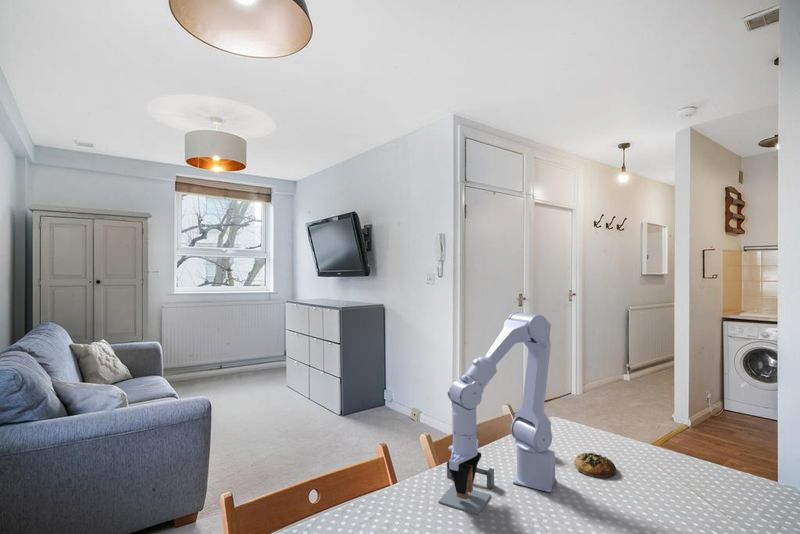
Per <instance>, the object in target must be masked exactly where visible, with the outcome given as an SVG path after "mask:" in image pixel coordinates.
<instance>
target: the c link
mask: <svg viewBox="0 0 800 534" xmlns="http://www.w3.org/2000/svg"><path fill="white" fill-rule="evenodd" d="M465 465H467V464H465ZM467 466H471V465H467ZM471 467H472V468H471V470H470V473H469V476H468V481H467V489H466V493H465V494H460V493H457V497H459V498H462V499H467V498H468V492H470V493H471V492H472V491H473V490H474V486H473V485H474V482H473V466H471Z"/></svg>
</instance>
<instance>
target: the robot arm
mask: <svg viewBox="0 0 800 534" xmlns="http://www.w3.org/2000/svg"><path fill="white" fill-rule="evenodd" d="M551 327H552V324H551V323H550V322H549V320H548V319H547V318H546V317H545V316H543V315H541V314H531V313H524V312H523V313H522V312H519V311H515V312H512V313H511V314H510V315H509V316H508V318H507V319H505V321H504V323H503V329H502V330H501V332H500V333H499V335H498V336H497V338H496V339H495V340H494V342H493V344H492V345H491V346H490V348H489V350H488V351H487V353H486V354H485V355H483V356H478V357H477V358H474V359H473V361H471V362H472V364H471V365H470V366H469V368H468V369H467V370H466V372H465V373H463V374H462V376H461V377H460V379H458V380H455V381H454V382H452V383H451V385H450V387H449V389H448V390H449V391H447V397H448V399H449V401H451V408H452V444H451V445H449V446H448V451H449V452H451V456H450V458H449V460H447V462H448V463H447V462H446V468H447V467H448V469H449V470H450V472H451V474H452V480H453V484H454V485H455V488H456V492H457V493H460V494H465V493H466V489H467V481H468V476H469V473H470V470H471V468H472V467H471V466H473V483H474V481H475V476H476V474H477V473H476V468H478V465H479V462H480V460H481V458H482V453H481V452H479V450H478V449H479V446H480V444H479V439H477V435H478V434H477V407H478V405H480V404H481V402H482V398H483V393H484V391H485V390H484V389H485V388H486V386H487V385H488V384H489V383H490V381H491V380H492V379H493V378H494V376H495V375H496V374H497V365H498V364H499V362H500V361H501V360H502V359H503V358H504V357H505V356H506V355H507V354H508V352H510V350H511V349H512V348H513V347H514V346H515V345H516V344H519V343H523V344H524V345H525V346H526V347H527V349H528V352H527V359H526V361H527V362H526V369H525V377H524V387H523V396H522V397H523V398H522V403H521V404H522V406H521V407H520V408H519V409H517V410H516V411H515V412H514V418H513V420H512V421H511V425H510V434H511V436H512V437H513V439H514V440H515V441H514V443H515V444H516V474H515V476H514V478H513V480H512V484H515V485H519V486H523V487H527V488H530V489H533V490H539V491H543V492H546V493H551V492H552V489H553V488H554V484H555V482H556V480H557V479H556V455H555V451H554V450H552V449H549V448H550V446H551V445H552V442H553V433H552V422H551V420H550V419H549V417H548V416H547V414H546V413H545V411H544V410H545V404H546V403H545V401H546V394H547V393H546V391H547V384H548V382H547V381H548V373H549V365H550V355H551V347H552V346H551V339H550V336H551ZM465 464H467V465H471V466H467V465H465Z"/></svg>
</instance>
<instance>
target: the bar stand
mask: <svg viewBox="0 0 800 534" xmlns="http://www.w3.org/2000/svg"><path fill="white" fill-rule="evenodd" d="M447 463H448V461H447V462H446V464H447ZM475 474H479V475H484V476H486V489H489V490H492V489H493V487H494V485H495V469H494V468H488V469H487V470H486V469H483V468H479V467H477V468H476V473H475ZM446 478H449V479H453V477H452V474H451V472H450V470H449V469H448V467H447V466H446Z"/></svg>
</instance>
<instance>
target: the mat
mask: <svg viewBox="0 0 800 534" xmlns="http://www.w3.org/2000/svg"><path fill="white" fill-rule="evenodd" d="M491 496H492V494H490V493H486V492H483V491H479V490H475V489H473V491H472V492H471V493H470V492H468V498H467V499H462V498H459V497H457V492H456V488H455V484H454V483H452V485H451V486H450V487H449V488H448V489H447V490H446V492H445V493H444V494H443V495H442V496H441V498H440V499H439V500H438V504H440V505H445V506H447V507H451V508H453V509H457V510H460V511H464V512H466V513H467V512H468V513H470V514H474V515H477V516H479V515H480V514H481V512H482V510H483V509H484V507H485V506H486V504H487V503H488V501H489V499H490V498H491Z"/></svg>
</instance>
